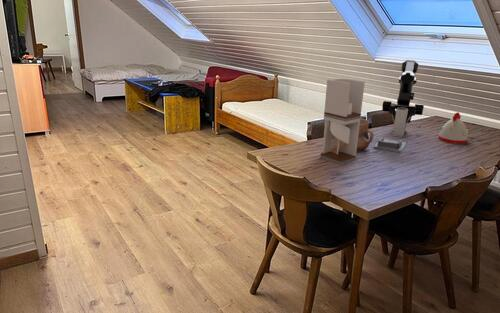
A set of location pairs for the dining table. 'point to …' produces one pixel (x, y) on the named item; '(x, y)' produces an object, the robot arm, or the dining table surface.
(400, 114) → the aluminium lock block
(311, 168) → the dining table surface
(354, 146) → the display case
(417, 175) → the dining table surface
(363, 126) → the ceramic jug
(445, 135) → the cream and red dome
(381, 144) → the coupler cradle
